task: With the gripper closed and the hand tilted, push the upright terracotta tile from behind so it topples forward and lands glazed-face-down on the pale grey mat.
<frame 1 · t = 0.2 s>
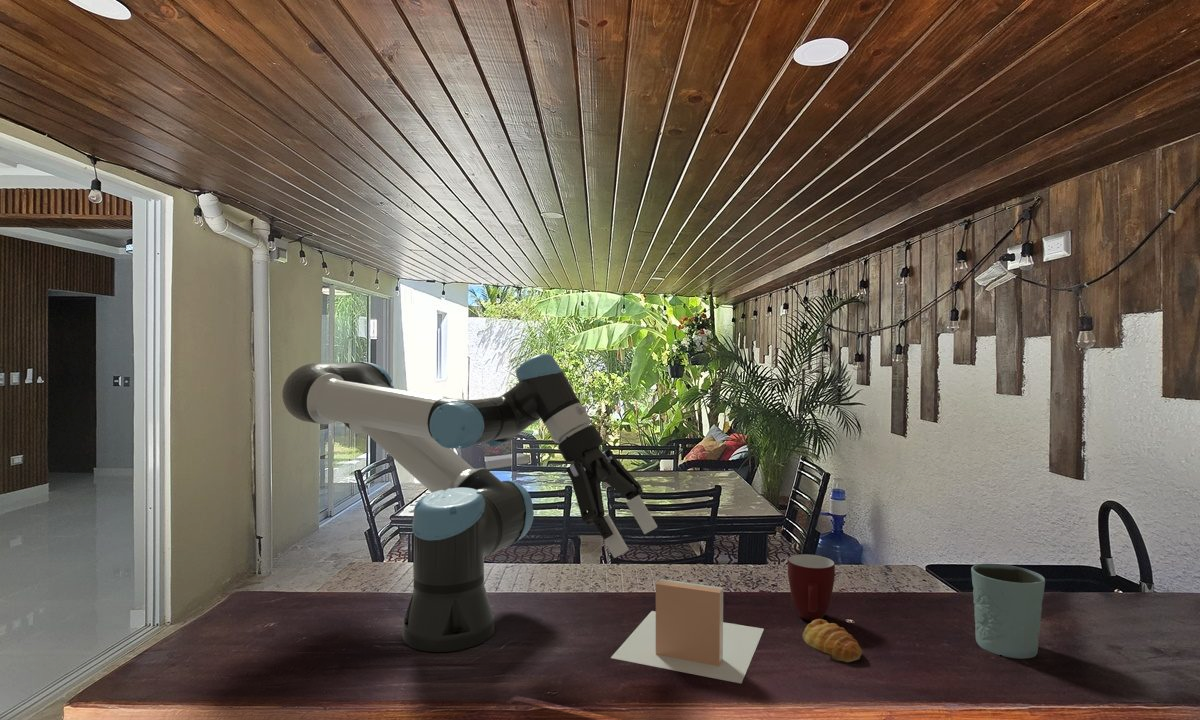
hand: (637, 541, 113), 15 cm above the bar counter, tool tilted 35°, fingers open, 13 cm apart
mat: (691, 646, 107), on the bar counter
pastry: (832, 651, 106), on the bar counter
mug: (812, 620, 118), on the bar counter
green ceramic cup: (1006, 647, 107), on the bar counter
tile: (688, 656, 102), point 1 cm above the bar counter, touching mat
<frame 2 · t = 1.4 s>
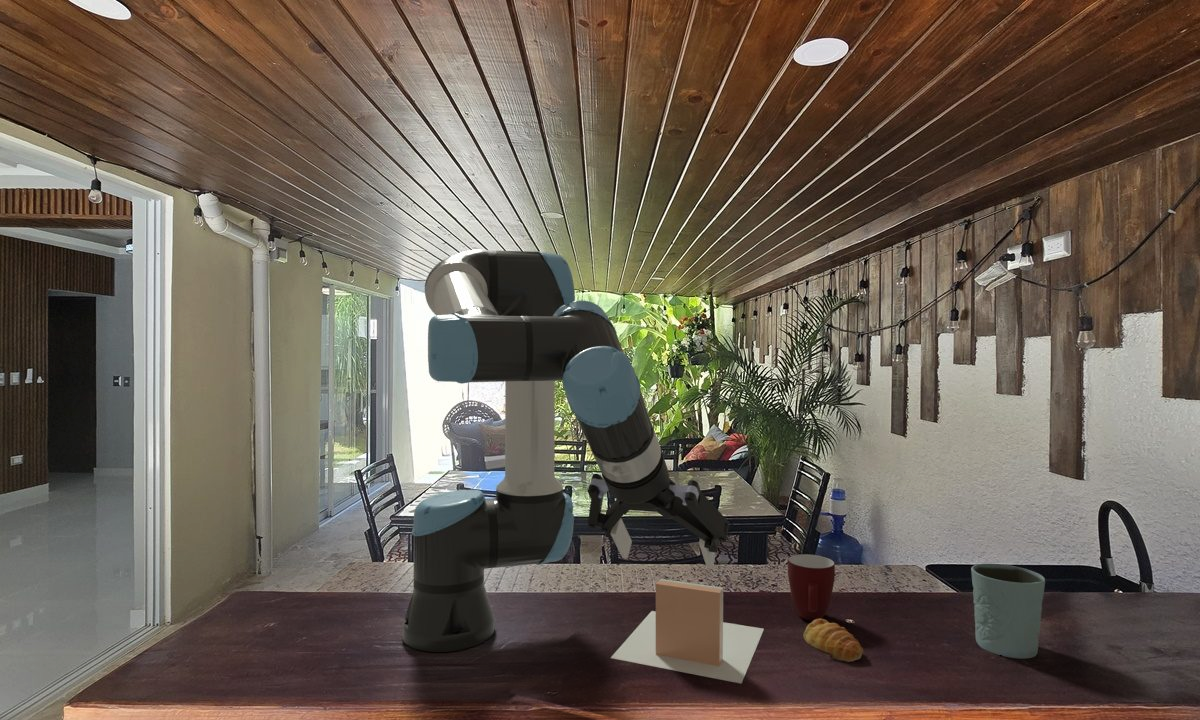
hand: (668, 554, 92), 19 cm above the bar counter, tool tilted 45°, fingers open, 11 cm apart
nothing on the bar counter moved.
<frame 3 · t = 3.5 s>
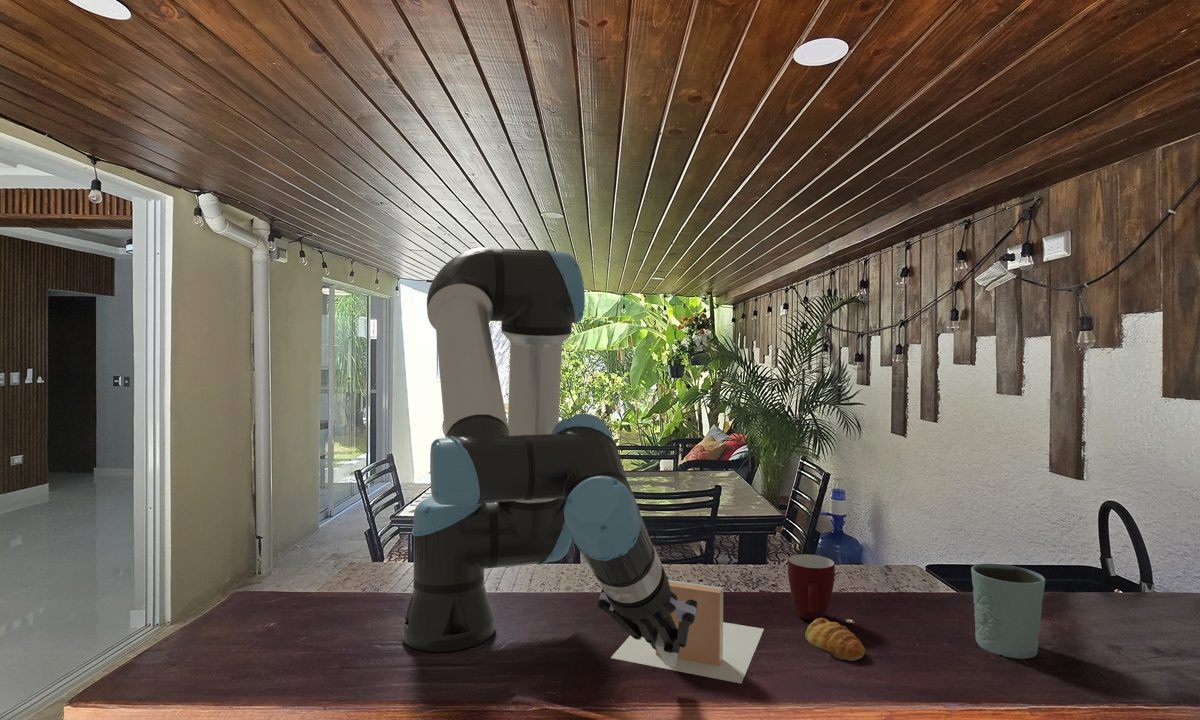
hand: (672, 656, 94), 5 cm above the bar counter, tool tilted 45°, fingers closed
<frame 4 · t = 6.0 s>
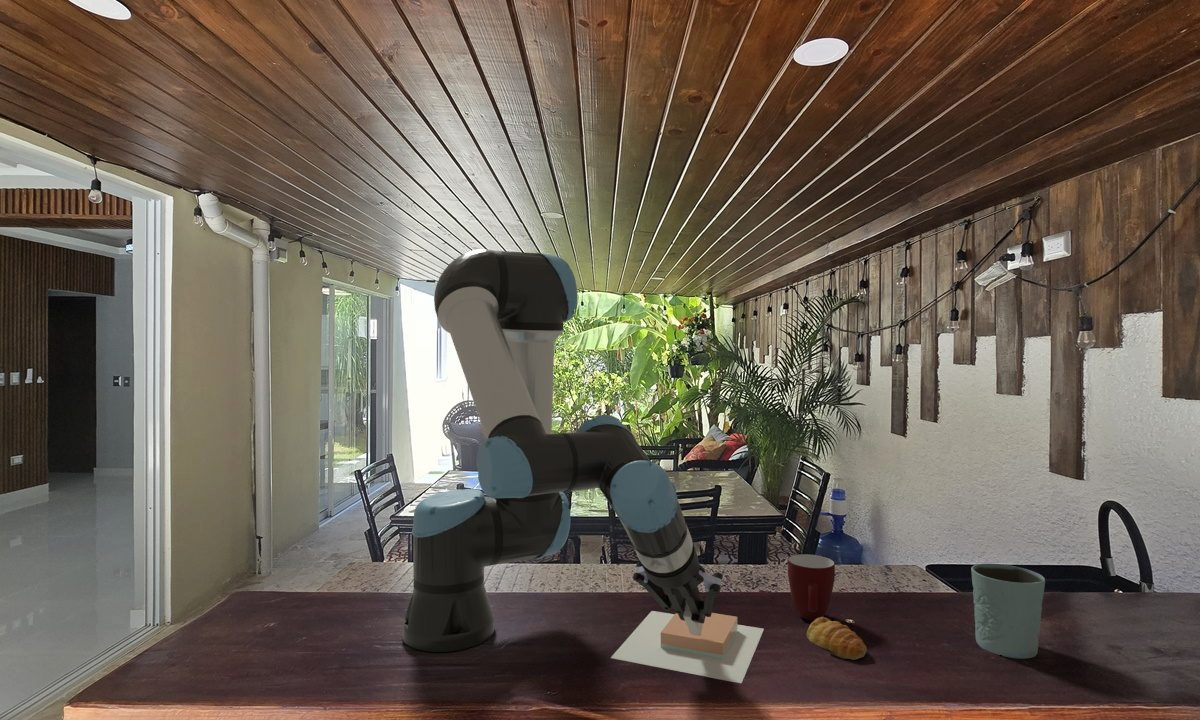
hand: (697, 627, 104), 4 cm above the bar counter, tool tilted 45°, fingers closed
tile: (691, 645, 103), point 2 cm above the bar counter, tilted 90°, touching mat
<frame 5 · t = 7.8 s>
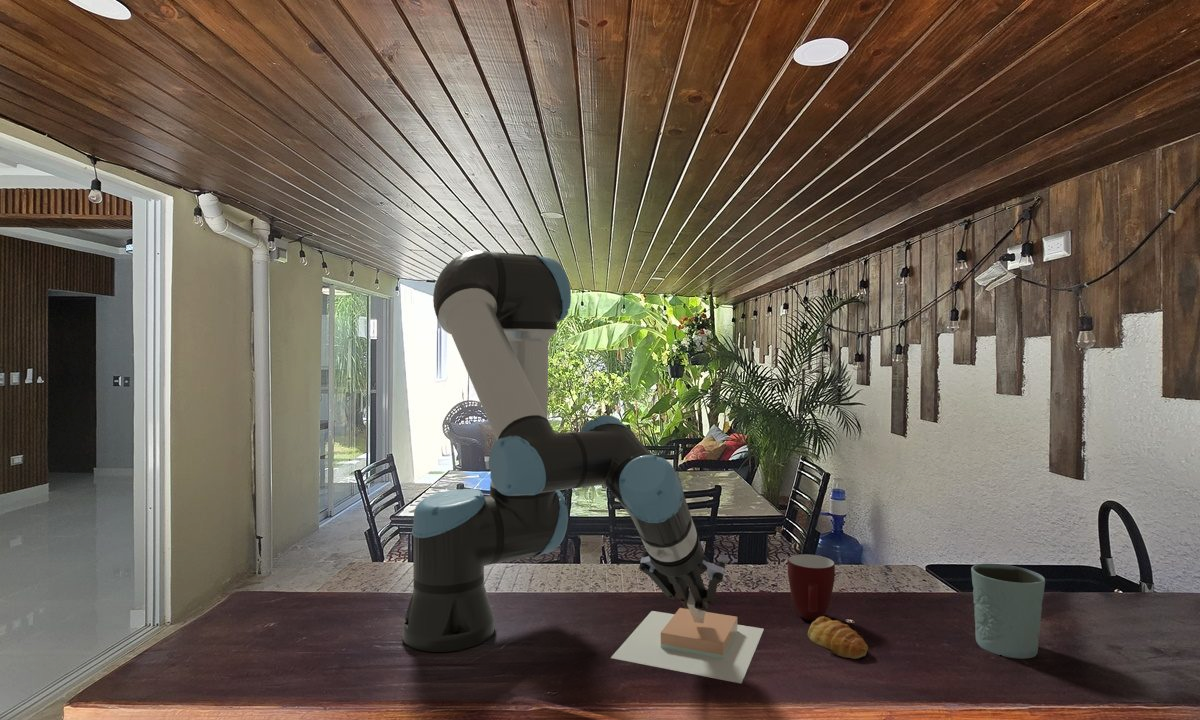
hand: (700, 614, 108), 5 cm above the bar counter, tool tilted 45°, fingers closed
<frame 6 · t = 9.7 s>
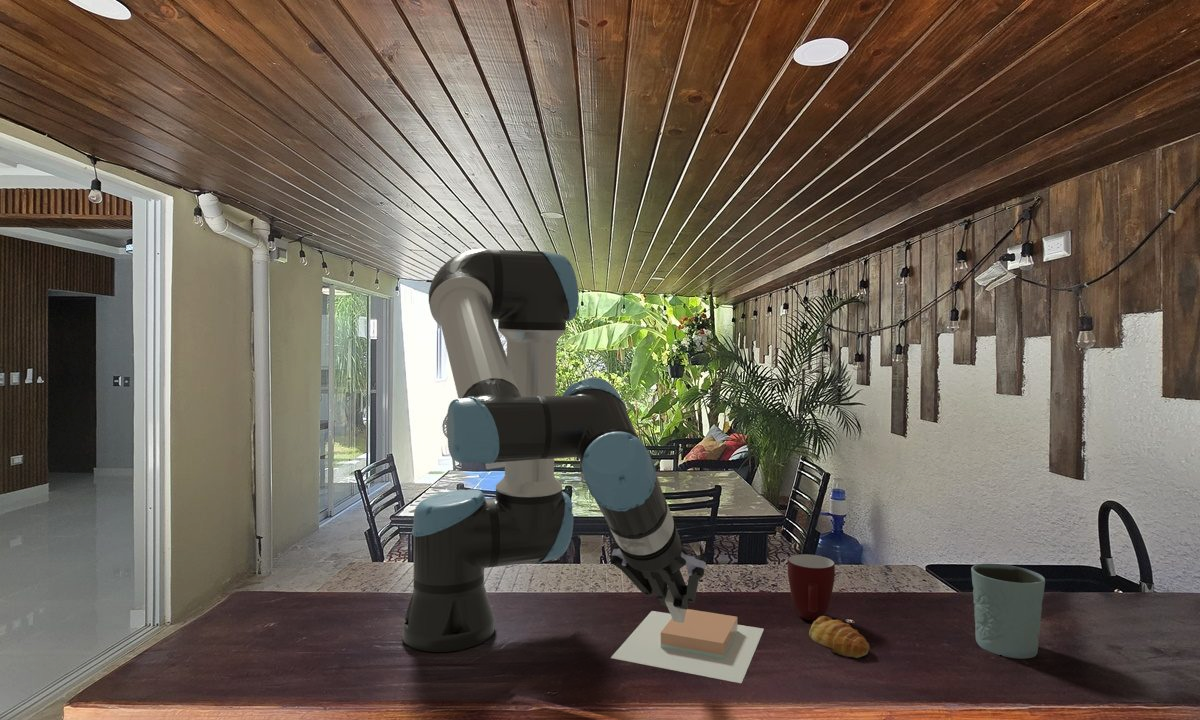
hand: (680, 613, 97), 9 cm above the bar counter, tool tilted 45°, fingers closed
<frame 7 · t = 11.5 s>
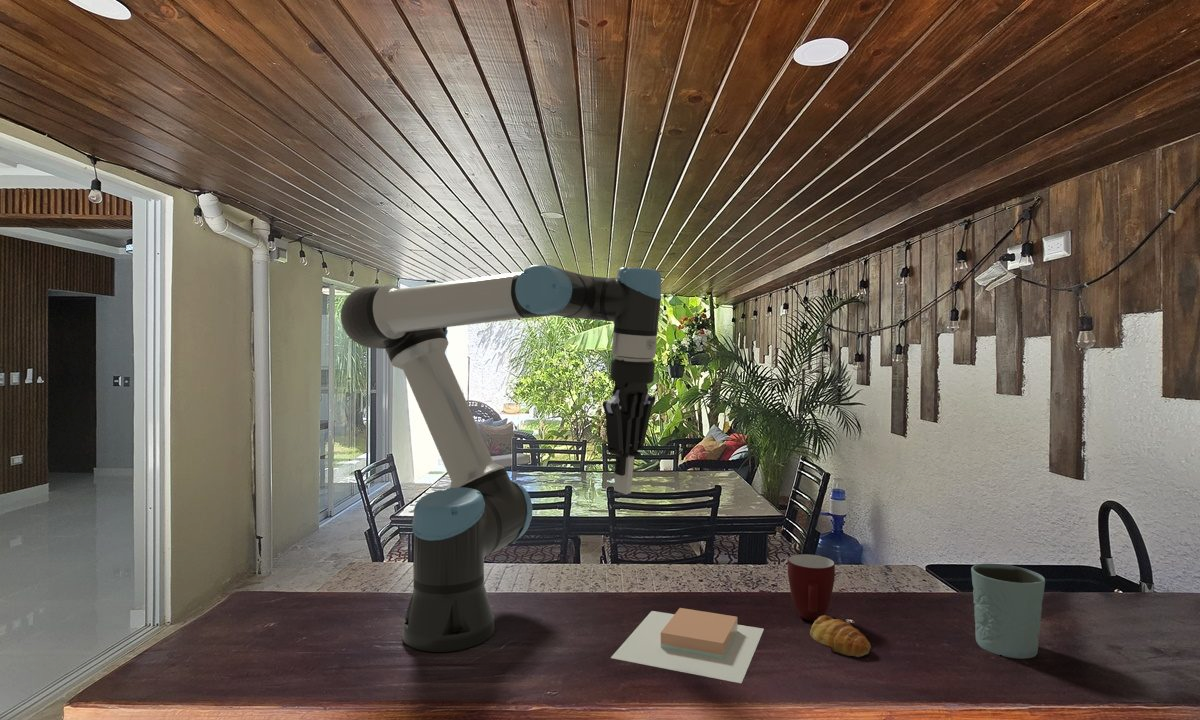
hand: (622, 491, 116), 23 cm above the bar counter, tool pointing down, fingers closed
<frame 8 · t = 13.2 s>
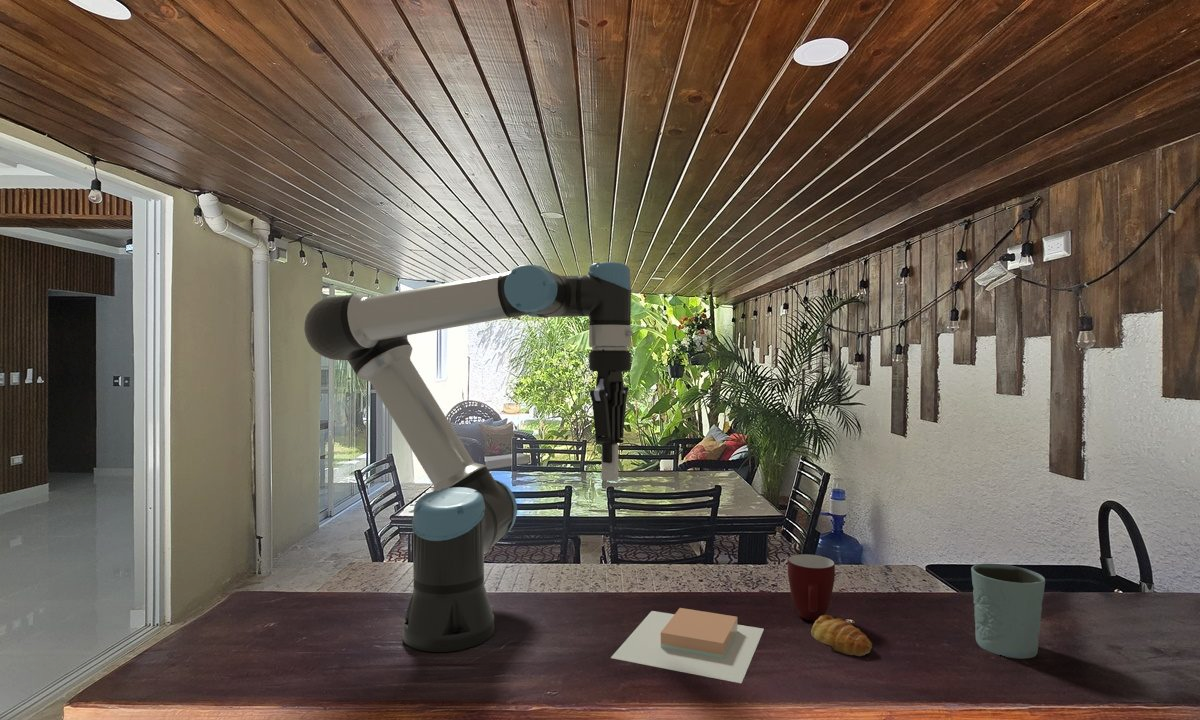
hand: (609, 479, 120), 24 cm above the bar counter, tool pointing down, fingers closed
at the end: tile tilted 90°; tile inside the target area on the mat (3.7 cm from its centre), point 1.8 cm above the mat's base; the gripper is holding nothing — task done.
